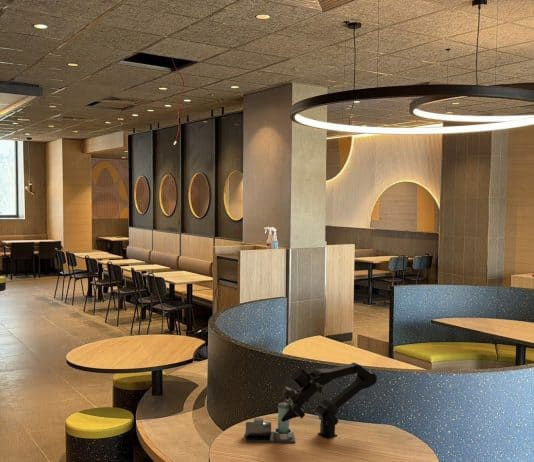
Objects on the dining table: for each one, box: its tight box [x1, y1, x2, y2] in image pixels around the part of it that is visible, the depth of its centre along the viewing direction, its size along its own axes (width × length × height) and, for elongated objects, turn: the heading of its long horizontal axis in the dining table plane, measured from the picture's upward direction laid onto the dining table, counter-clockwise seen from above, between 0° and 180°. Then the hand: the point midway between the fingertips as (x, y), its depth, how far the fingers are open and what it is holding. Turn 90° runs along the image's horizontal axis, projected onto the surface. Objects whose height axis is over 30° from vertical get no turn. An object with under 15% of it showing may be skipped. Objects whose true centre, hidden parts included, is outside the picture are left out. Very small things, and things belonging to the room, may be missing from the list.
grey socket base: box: [244, 417, 296, 444], centre depth 262 cm, size 22×10×8 cm, turn 93°
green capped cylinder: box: [277, 401, 290, 434], centre depth 262 cm, size 5×5×13 cm
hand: (280, 418), depth 261 cm, fingers closed on green capped cylinder, 5 cm apart
